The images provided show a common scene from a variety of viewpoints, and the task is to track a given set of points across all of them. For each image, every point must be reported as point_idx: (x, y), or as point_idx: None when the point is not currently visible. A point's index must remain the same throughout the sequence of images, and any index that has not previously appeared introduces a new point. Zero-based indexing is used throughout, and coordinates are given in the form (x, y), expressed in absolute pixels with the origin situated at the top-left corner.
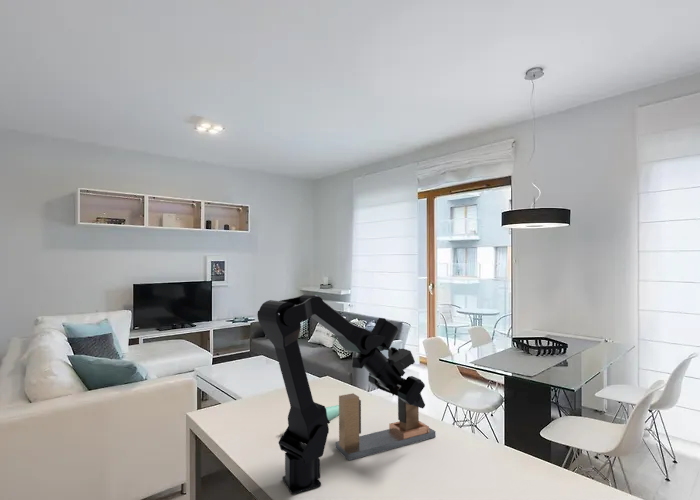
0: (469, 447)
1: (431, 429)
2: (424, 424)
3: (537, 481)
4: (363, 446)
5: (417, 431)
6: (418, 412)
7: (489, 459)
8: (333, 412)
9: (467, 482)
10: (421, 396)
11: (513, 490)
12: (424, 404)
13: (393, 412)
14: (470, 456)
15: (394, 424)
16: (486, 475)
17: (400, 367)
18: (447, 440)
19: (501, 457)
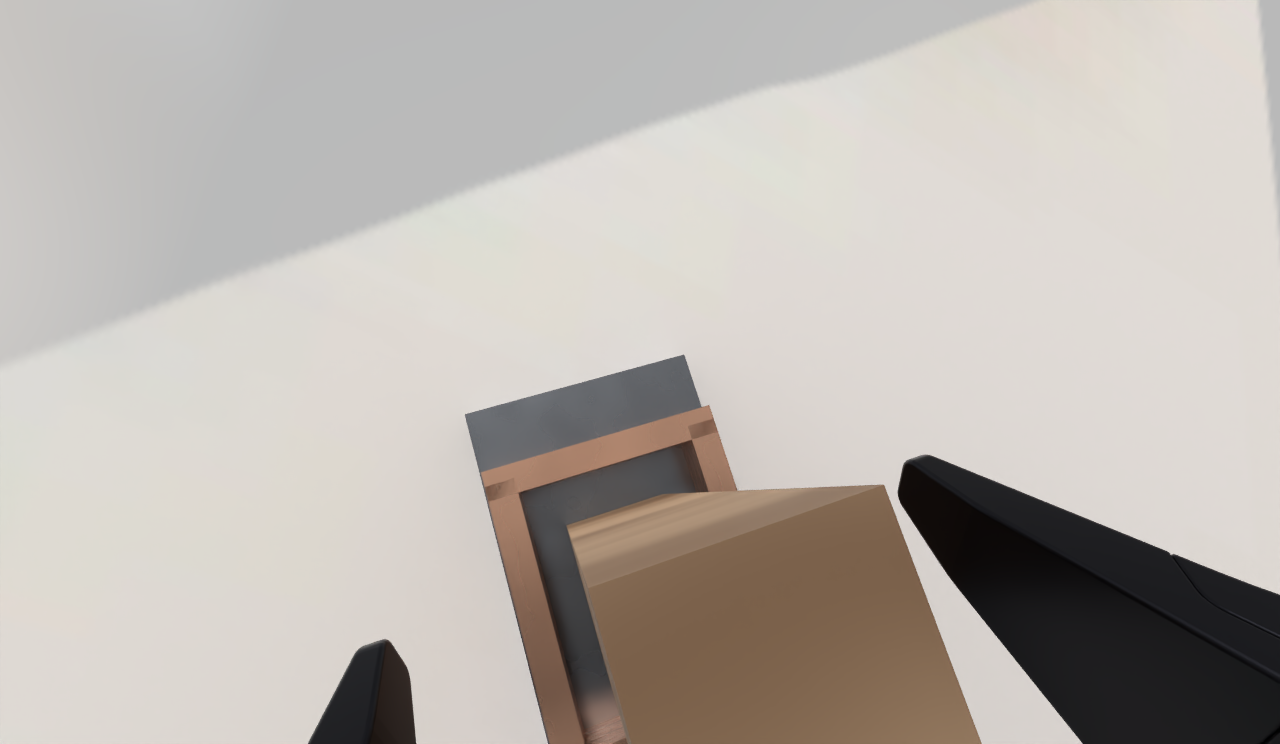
0: (849, 219)
1: (645, 371)
2: (653, 427)
3: (1182, 108)
4: None
5: None
6: (702, 492)
7: (992, 191)
8: None
9: (1206, 429)
10: (1193, 564)
11: (1254, 252)
12: (952, 470)
13: (24, 550)
14: (955, 272)
15: (581, 736)
16: (1142, 298)
17: None
18: (737, 305)
19: (975, 120)
